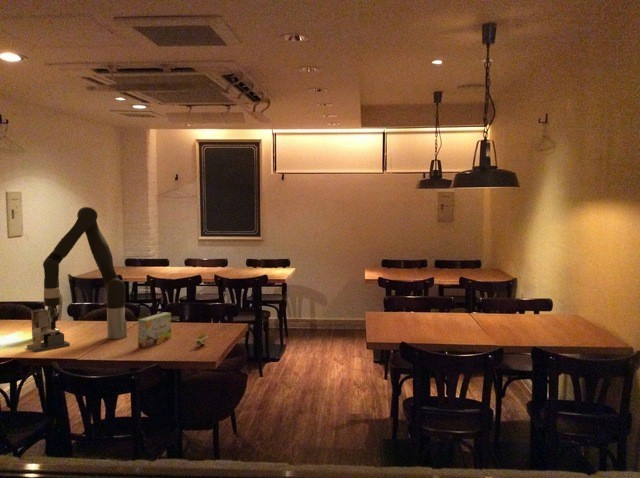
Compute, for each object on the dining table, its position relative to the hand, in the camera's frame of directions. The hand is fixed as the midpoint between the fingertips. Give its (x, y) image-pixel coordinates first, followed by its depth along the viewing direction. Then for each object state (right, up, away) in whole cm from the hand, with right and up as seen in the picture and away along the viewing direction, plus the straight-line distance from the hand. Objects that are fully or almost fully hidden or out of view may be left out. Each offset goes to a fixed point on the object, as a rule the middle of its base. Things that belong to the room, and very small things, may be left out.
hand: (53, 328), depth 271 cm
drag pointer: (-5, -5, -5) cm, 9 cm away
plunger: (-2, -4, -2) cm, 5 cm away
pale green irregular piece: (+78, -10, +2) cm, 78 cm away
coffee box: (-14, -8, +15) cm, 22 cm away
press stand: (-2, -9, -1) cm, 10 cm away
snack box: (+52, -9, +7) cm, 53 cm away
